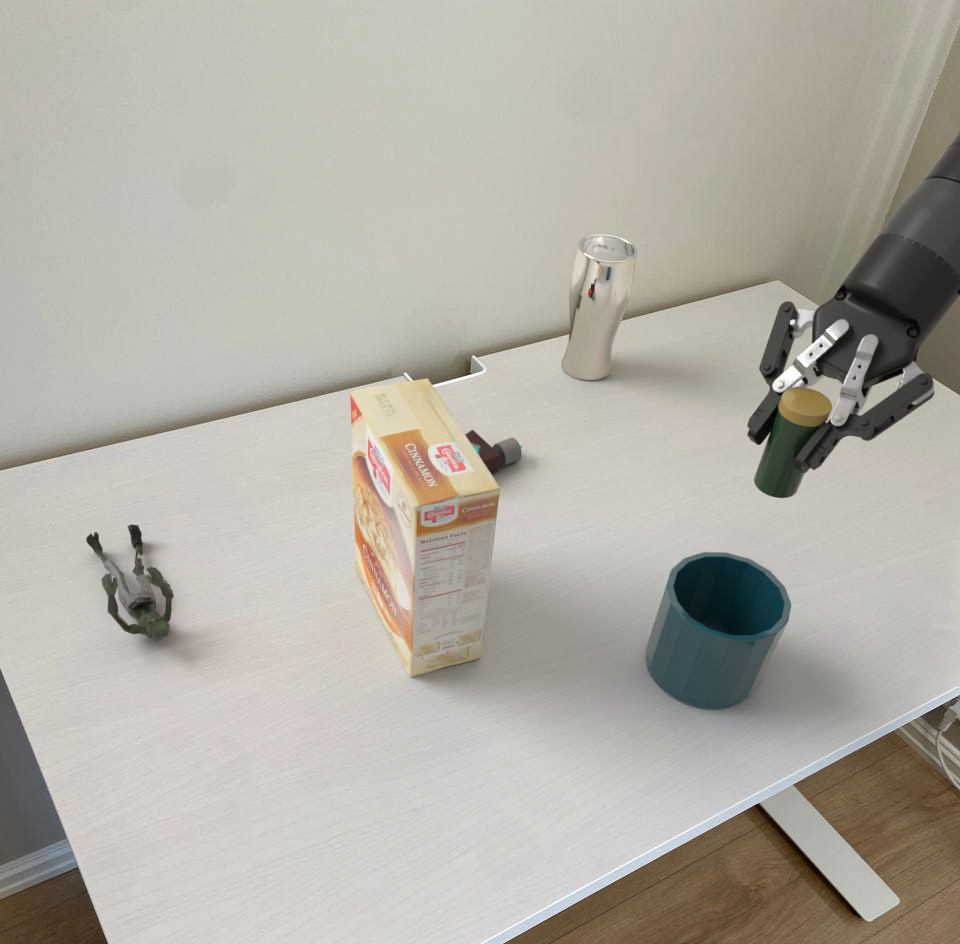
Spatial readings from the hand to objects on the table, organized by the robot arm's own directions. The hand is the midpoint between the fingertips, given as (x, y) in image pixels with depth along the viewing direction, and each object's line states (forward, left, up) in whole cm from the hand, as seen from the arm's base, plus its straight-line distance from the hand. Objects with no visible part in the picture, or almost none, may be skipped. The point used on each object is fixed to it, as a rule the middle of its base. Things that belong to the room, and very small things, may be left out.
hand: (776, 453), depth 75 cm
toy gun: (+30, -14, -20) cm, 39 cm away
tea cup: (0, +5, -20) cm, 21 cm away
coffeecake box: (+26, +9, -20) cm, 34 cm away
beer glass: (+22, -37, -20) cm, 47 cm away
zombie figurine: (+49, +18, -20) cm, 56 cm away
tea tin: (-1, -2, -4) cm, 4 cm away
